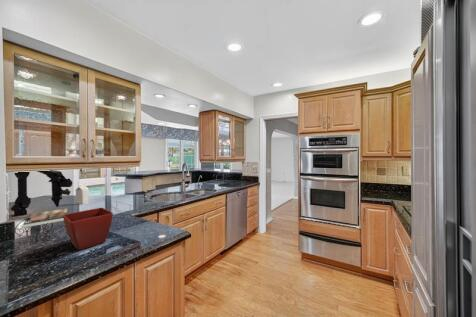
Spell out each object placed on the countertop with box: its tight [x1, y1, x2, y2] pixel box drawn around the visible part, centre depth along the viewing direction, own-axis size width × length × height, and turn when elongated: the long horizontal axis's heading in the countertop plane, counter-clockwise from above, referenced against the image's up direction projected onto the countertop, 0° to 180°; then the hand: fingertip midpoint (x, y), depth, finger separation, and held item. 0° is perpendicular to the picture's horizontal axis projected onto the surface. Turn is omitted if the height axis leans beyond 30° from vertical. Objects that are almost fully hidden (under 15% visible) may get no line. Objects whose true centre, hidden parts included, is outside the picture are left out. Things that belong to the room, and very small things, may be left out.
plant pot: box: [62, 207, 114, 251], centre depth 114 cm, size 19×19×17 cm
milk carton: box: [75, 184, 90, 205], centre depth 195 cm, size 7×7×19 cm
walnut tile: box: [48, 212, 65, 220], centre depth 159 cm, size 8×10×2 cm
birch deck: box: [28, 208, 68, 219], centre depth 165 cm, size 22×14×2 cm, turn 131°
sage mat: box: [21, 217, 64, 229], centre depth 154 cm, size 26×22×1 cm
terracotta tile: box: [29, 214, 48, 223], centre depth 152 cm, size 8×10×2 cm
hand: (57, 206), depth 161 cm, fingers closed
